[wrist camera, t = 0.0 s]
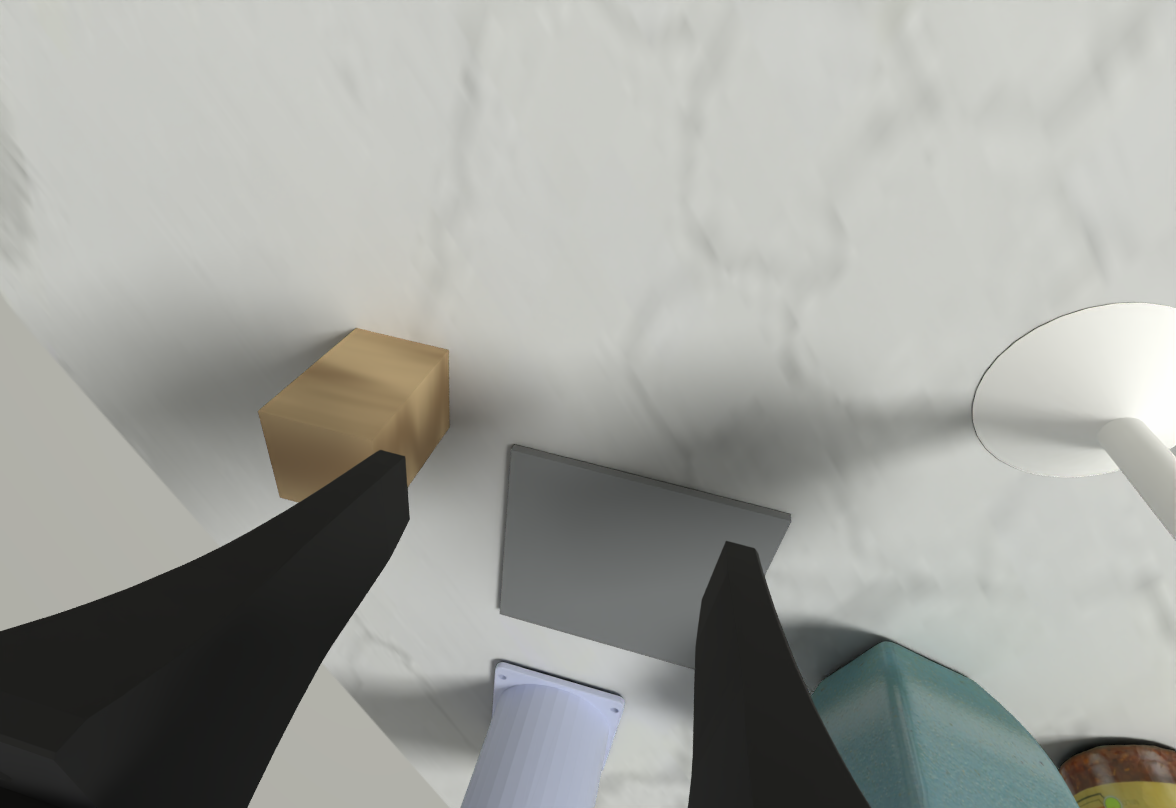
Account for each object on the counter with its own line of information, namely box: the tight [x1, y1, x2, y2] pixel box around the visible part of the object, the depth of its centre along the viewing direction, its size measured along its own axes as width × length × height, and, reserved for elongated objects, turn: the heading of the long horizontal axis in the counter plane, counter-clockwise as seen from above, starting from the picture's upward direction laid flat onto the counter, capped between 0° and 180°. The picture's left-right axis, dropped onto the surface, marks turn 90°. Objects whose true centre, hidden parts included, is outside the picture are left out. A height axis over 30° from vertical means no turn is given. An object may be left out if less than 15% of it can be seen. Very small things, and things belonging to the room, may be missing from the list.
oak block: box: [258, 328, 450, 502], centre depth 23 cm, size 4×4×6 cm
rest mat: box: [500, 444, 791, 669], centre depth 28 cm, size 12×12×1 cm
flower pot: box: [811, 642, 1079, 808], centre depth 25 cm, size 9×9×9 cm
